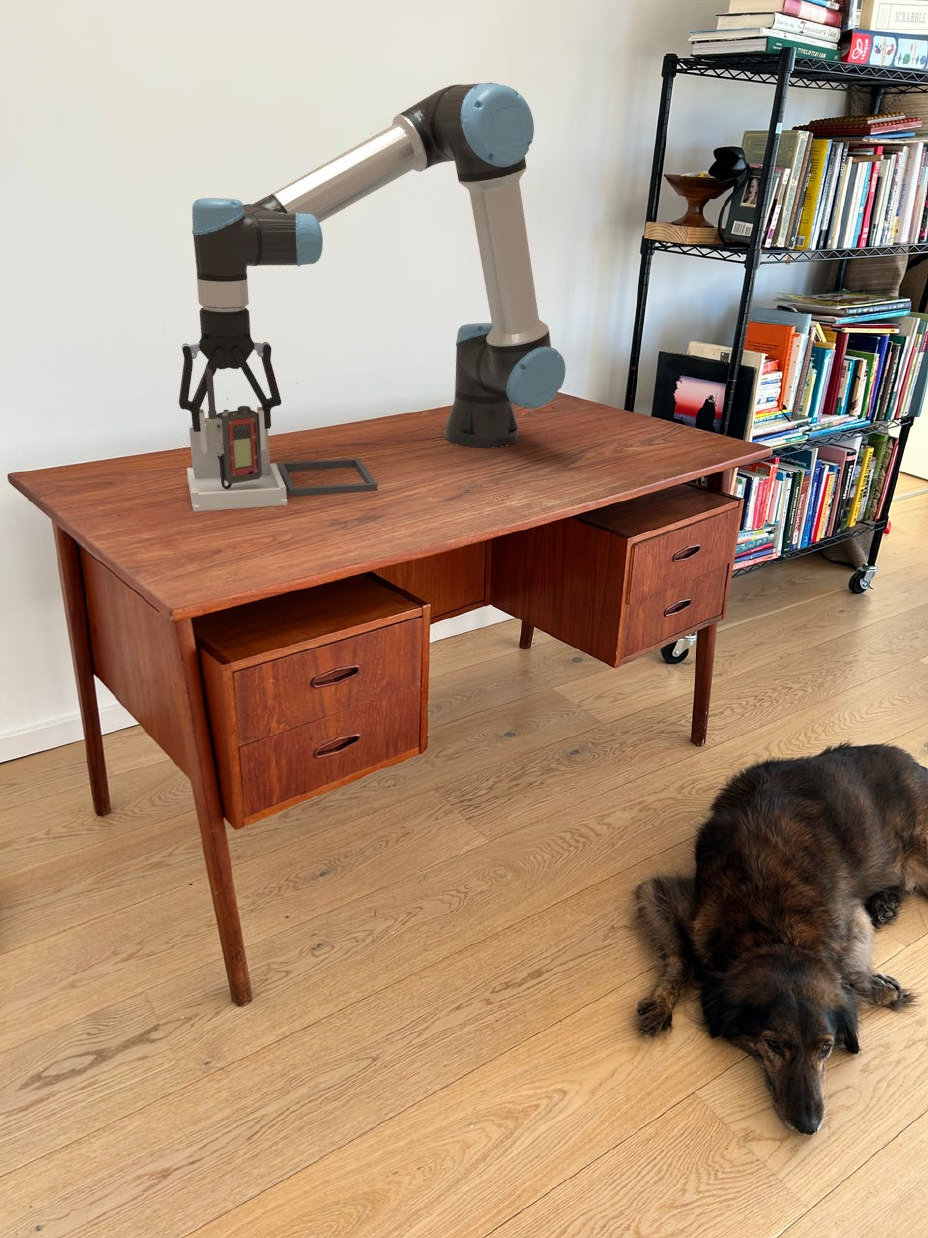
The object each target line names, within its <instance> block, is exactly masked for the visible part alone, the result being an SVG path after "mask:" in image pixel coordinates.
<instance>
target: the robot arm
mask: <svg viewBox="0 0 928 1238" xmlns="http://www.w3.org/2000/svg"><path fill="white" fill-rule="evenodd" d="M534 133H535V124H534V118H533V114H532V111H531V108H530V106H529V104H528V102H527V101H526V99H525V98H524V97H523V96H522V95H521V94H520V93H519V92H518V91H517V90H515V89H514V88H512V87H510V86H509V85H508V86H507V85H505V84H499V83H496V82H495V83H494V82H483V83H480V82H479V83H468V84H463V83H462V84H452V85H449V86H447V87H444V88H441V89H438V90H437V91H435V92H434V93H431V94H430V95H429V96H427V97H425V98H423V99H422V100H420V101H418V102H417V103H415V104H414V105H412V106H410V107H408V108H407V109H405V110H404V111H402V112H401V113H399V114H397V115H395V116H394V118H393V120H392V125H391V126H389V127H388V128H386V129H384V130H382V131H380V132H378V133H376V134H375V135H373V136H371V137H370V138H368V139H366V140H365V141H362V142H360V143H358V144H357V145H355V146H353V147H352V148H350V149H348V150H346V151H344V152H343V153H341V154H340V155H337V156H336V157H334V158H333V159H330V160H329V161H327V162H325V163H323V164H321V165H320V166H318V167H316V168H315V169H312V170H311V171H310V172H308V173H306V174H304V175H303V176H300V177H298V178H297V179H295V180H293V181H292V182H290V183H288V184H286V185H284V186H283V187H281V188H279V189H278V190H276V191H274V192H272V193H271V194H270V195H269V194H268V195H267V196H265V197H263V198H262V199H259V200H258V201H256V202H254V203H246V204H243V201H241V200H240V199H237V198H236V199H235V198H220V197H217V198H216V197H204V198H198V199H196V200H195V201H194V202H193V204H192V210H191V211H192V217H191V218H192V231H191V233H192V235H193V246H194V257H195V265H196V284H197V285H196V287H197V298H198V304H199V305H200V306H202V307H201V308H200V310H199V321H200V322H199V323H200V335H201V336H200V340H199V341H198V342H197V343H192V344H188V343H182V346H181V350H182V354H183V365H182V373H181V380H180V381H181V382H180V389H179V396H178V397H179V398H178V406H179V408H180V409H181V410H186V411H188V412H190V413H191V423H192V425H191V426H193V430H194V432H200V436H201V448H202V452H203V453H207V441H206V428H205V425H206V424H205V420H204V419H205V418H206V417H205V411H204V408H202V405H203V402H204V399H205V398H206V395H207V394H208V393H207V381H206V370H207V369H211V370H212V372H213V377H214V376H215V374H216V372H217V370H226V369H233V370H239V369H241V371H242V373H243V374H244V376H245V377H246V379H247V381H248V383H249V385H250V387H251V388H252V390H253V393H254V394H255V395H256V398H257V399H258V401H259V403H260V405H261V406H256V411H257V413H258V415H259V430H260V448H261V450H266V445H265V429H268V430H269V429H270V430H271V427H272V415H271V411H272V409H273V408H275V407H277V406H278V407H279V406H281V404H282V399H281V395H280V391H279V387H278V384H277V380H276V379H277V378H276V375H275V373H274V372H275V371H274V367H273V365H272V364H273V363H272V361H271V359H272V346H271V345H270V343H269V342H267V341H264V342H263V343H262V342H254V341H253V339H252V336H251V321H250V310H249V309H248V308H247V306H248V305H249V304H250V303H249V285H248V284H249V283H248V272H247V271H248V270H247V268H248V267H258V266H297V267H300V266H305V265H315V264H316V263H318V261H319V260H320V259H321V257H322V253H323V247H324V245H323V243H324V242H323V237H324V236H323V231H322V227H321V223H322V222H324V221H325V220H327V219H329V218H331V217H332V216H334V215H336V214H337V213H339V212H341V211H343V210H345V209H346V208H348V207H350V206H351V205H353V204H355V203H357V202H358V201H360V200H362V199H364V198H365V197H368V196H369V195H371V194H372V193H375V192H376V191H378V190H379V189H381V188H382V187H384V186H386V185H388V184H390V183H392V182H393V181H395V180H397V179H399V178H400V177H402V176H404V175H405V174H408V173H409V172H411V171H412V170H413V171H414V172H415V171H416V172H419V173H421V172H423V171H426V170H428V169H429V168H431V167H433V166H435V165H438V164H442V163H447V162H454V165H455V170H456V175H457V181H458V183H459V184H460V185H461V186H462V187H465V188H466V189H467V190H468V193H469V197H470V204H471V208H472V209H471V210H472V215H473V221H474V227H475V233H476V238H477V244H478V249H479V256H480V261H481V268H482V272H483V273H482V274H483V279H484V284H485V291H486V297H487V302H488V308H489V313H490V321H491V322H482V323H481V322H478V323H477V322H475V323H467V324H463V325H461V326H460V327H459V328H458V330H457V337H456V343H455V346H456V354H455V355H456V356H455V357H456V358H455V383H454V384H455V385H454V386H455V387H454V401H453V403H452V407H451V408H450V411H449V412H450V413H449V415H448V416H447V421H446V423H445V428H444V438H445V439H446V440H447V441H448V442H450V443H452V444H454V443H455V444H454V445H457V444H458V446H461V445H462V447H466V446H469V447H468V448H474V447H476V448H477V449H492V448H491V447H498V448H502V447H501V446H505V447H507V446H506V445H509V446H511V445H510V444H512V445H514V444H513V443H515V444H516V443H518V441H519V432H520V431H519V426H518V421H517V418H516V414H515V410H514V405H515V406H517V407H523V408H527V409H539V408H540V407H543V406H546V405H547V404H549V403H550V402H551V401H553V399H554V398H556V396H557V394H558V393H559V390H561V388H562V386H563V384H564V381H565V378H566V369H567V368H566V362H565V360H564V358H563V355H562V354H561V353H560V352H559V351H558V350H557V349H555V347H552V344H551V336H550V329H549V326H548V325H547V323H545V322H544V321H542V320H541V319H540V318H539V317H540V316H539V311H538V309H539V308H538V304H537V297H536V289H535V283H534V275H533V270H532V267H533V266H532V262H531V255H530V248H529V240H528V235H527V234H528V233H527V228H526V219H525V213H524V212H525V211H524V205H523V198H522V193H521V192H522V190H521V184H520V180H521V178H522V176H523V175H524V173H525V172H526V170H527V161H526V155H527V154H528V153H529V150H530V145H531V144H532V143H533V139H534ZM253 351H256V355H257V356H258V357H259V358H261V362H262V366H263V370H264V373H265V377H266V381H267V386H268V390H269V393H270V395H271V396H270V397H269V398H267V396H266V395H265V393H264V391H263V388H261V386H260V384H259V382H258V380H257V378H256V376H255V375H254V373H253V371H252V369H251V367H250V366H249V364H248V361H247V360H248V359H249V358H250V356H251V354H252V353H253ZM199 352H201V353H202V354H203V355H204V357H205V358H206V359H207V363H206V365H205V369H204V371H203V373H202V376H201V378H200V381H199V382H198V383H199V384H198V386H197V388H196V391H195V393H194V395H193V398H192V401H191V400H189V397H190V390H191V388H190V387H191V382H192V373H193V368H194V360H195V359H197V357H198V353H199ZM476 448H475V449H476Z"/></svg>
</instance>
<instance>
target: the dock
mask: <svg viewBox="0 0 928 1238" xmlns="http://www.w3.org/2000/svg"><path fill="white" fill-rule="evenodd" d="M205 428H206V424H205ZM188 429H189V440H190V453H191V463H192V467H186V474H187V485H188V489H189V496H190V500H191V505H192V506H191V507H192V510H193V511H192V512H193V513H194V512H195V513H196V512H205V511H206V512H209V511H219V510H220V511H221V510H233V509H234V510H237V509H248V508H263V507H264V508H265V507H276V506H277V507H278V506H288V500H287V489H286V486H285V484H284V482H283V480H282V477H281V475H280V473H279V470H278V465H277V463H275V462H273V463H272V462H270V446H269V445H270V444H269V443H270V442H269V441H270V440H269V429H265V445H266V450H260V452H261V465H262V466H261V468H262V469H261V470H262V475H261V477H260V478H259V479H256V480H250V481H244V482H239V483H233V484H232V486H231V488H229V489H224V488H223V487H222V484H221V477H220V476H221V474H220V462H219V459H218V457H217V455H215V450H214V449H213V448H212V447H211V445H210V444H209V443H208V442H207V453H203V452H202V448H201V436H200V432H194V430H193V426H192V425H189V426H188ZM206 441H207V433H206ZM260 449H261V448H260ZM224 483H225V486H228V482H227V481H225V480H224Z"/></svg>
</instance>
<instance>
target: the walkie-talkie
mask: <svg viewBox="0 0 928 1238" xmlns="http://www.w3.org/2000/svg"><path fill="white" fill-rule="evenodd" d="M206 381H207V393H206V394H207V403H208V405H207V406H208V412H207V413H208V414H207V415H208V417H205V419H204V420H205V425H206V433H207V442H208V443H209V444H210V445H211V447H212V448H213V449H214V450H215V455H217V457H218V459H219V462H220V474H221V476H220V477H221V484H222V487H223V488H224V489H229V488H231V486H232V484H233V483H239V482H244V481H250V480H256V479H259V478H260V477H261V475H262V470H261V469H262V468H261V466H262V465H261V452H260V450H261V449H260V430H259V415H258V413H257V412H256V411H255V410H253V409H251V406H249V405H240V406H237V410H230V411H229V409H223V411H222V412H218V413H217V410H216V401H215V400H216V399H215V388H214V387H215V385H214V376H213V372H212V370H211V369H207V370H206ZM224 480H225V481H227V482H228V486H225V483H224Z"/></svg>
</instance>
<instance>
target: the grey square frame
mask: <svg viewBox="0 0 928 1238" xmlns="http://www.w3.org/2000/svg"><path fill="white" fill-rule="evenodd" d="M277 468H278V470H279V473H280V475H281V477H282V480H283V482H284V484H285V486H286V492H287V493H288V495H289V497H304V496H318V495H320V496H321V495H322V496H323V495H333V494H335V495H337V494H347V493H348V494H349V493H363V492H378V483H377V482H376V481H375V479H374V478H373V476H372V475H371V473H370V472H369V470H368V469H367V467H366V466H365V464H364V463H363V461H362V460H361V459H360V458H359V457H358V458H341V459H340V458H339V459H337V458H336V459H324V460H323V459H322V460H319V459H317V460H305V461H304V460H303V461H302V460H301V461H298V460H297V461H284V462H277ZM347 468H348V469H349V468H355V469H356V471H357V472H358V473H359V475H360V477H361V478H362V479H363V481H364V482H363V483H347V484H329V485H327V484H326V485H313V486H298V487H295V485H294V483H293V481H292V478H291V476H290V474H289V473H288V472H297V471H300V472H301V471H313V470H325V469H326V470H329V469H332V470H333V469H347Z"/></svg>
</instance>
